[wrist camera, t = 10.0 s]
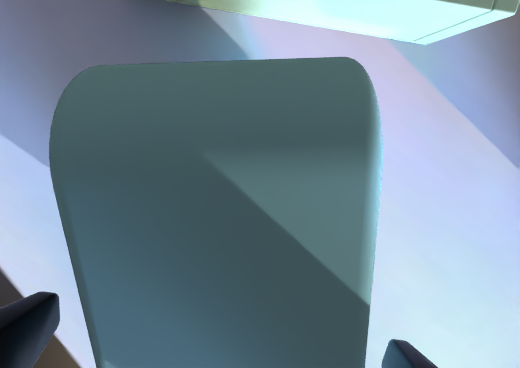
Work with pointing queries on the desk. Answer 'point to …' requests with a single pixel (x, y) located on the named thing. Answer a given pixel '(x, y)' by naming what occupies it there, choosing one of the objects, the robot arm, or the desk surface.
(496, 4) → the open green box
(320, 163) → the data package
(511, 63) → the desk surface
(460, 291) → the desk surface
